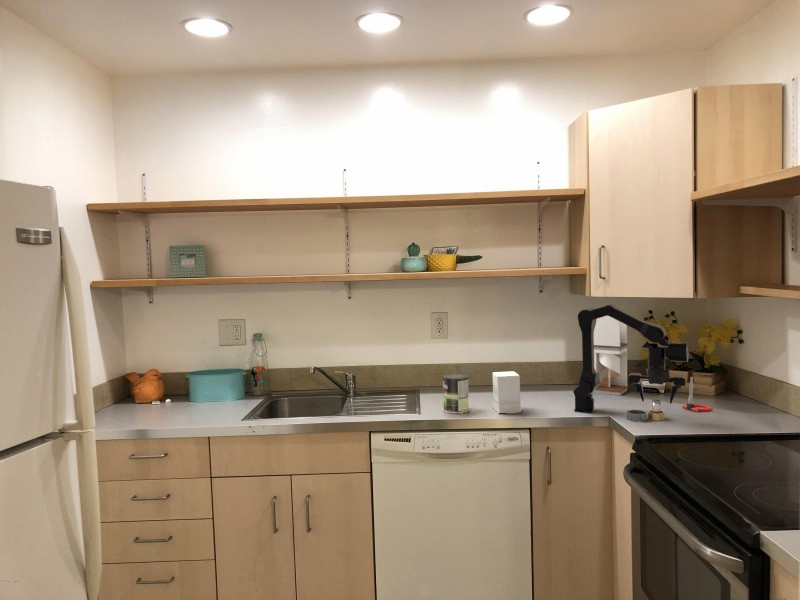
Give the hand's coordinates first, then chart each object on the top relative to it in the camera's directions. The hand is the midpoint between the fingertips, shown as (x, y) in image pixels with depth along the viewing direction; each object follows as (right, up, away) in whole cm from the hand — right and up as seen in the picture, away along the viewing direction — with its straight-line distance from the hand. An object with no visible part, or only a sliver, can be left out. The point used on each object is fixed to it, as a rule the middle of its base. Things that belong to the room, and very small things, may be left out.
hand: (656, 402), depth 210 cm
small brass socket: (0, -6, 0) cm, 6 cm away
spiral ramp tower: (-1, -3, +44) cm, 44 cm away
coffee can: (-71, -7, +21) cm, 74 cm away
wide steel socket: (-7, -6, +1) cm, 9 cm away
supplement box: (-51, -7, +18) cm, 55 cm away
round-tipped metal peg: (0, -6, 0) cm, 6 cm away
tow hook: (+21, -5, +11) cm, 24 cm away
